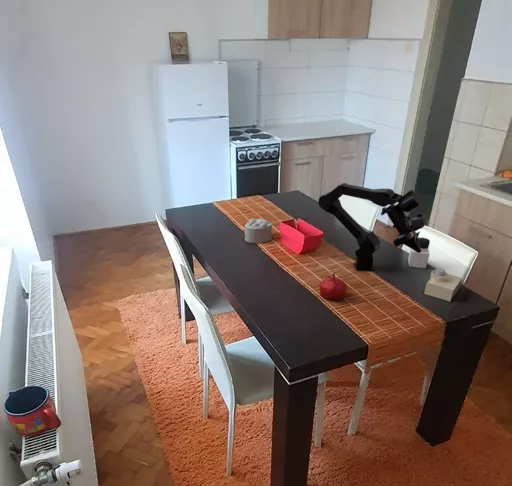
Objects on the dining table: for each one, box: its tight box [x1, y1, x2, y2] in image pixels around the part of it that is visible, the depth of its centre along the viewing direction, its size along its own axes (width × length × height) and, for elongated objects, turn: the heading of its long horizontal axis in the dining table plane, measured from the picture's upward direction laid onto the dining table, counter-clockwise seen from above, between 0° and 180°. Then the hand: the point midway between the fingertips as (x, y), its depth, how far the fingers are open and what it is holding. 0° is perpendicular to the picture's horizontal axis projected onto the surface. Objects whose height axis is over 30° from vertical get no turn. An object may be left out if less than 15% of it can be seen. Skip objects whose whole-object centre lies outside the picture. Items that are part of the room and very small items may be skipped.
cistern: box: [424, 269, 463, 302], centre depth 183 cm, size 11×13×7 cm
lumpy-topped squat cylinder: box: [244, 218, 273, 244], centre depth 221 cm, size 10×13×9 cm
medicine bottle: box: [407, 236, 431, 269], centre depth 202 cm, size 7×7×12 cm
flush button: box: [435, 267, 447, 276], centre depth 182 cm, size 4×4×2 cm
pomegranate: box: [319, 272, 348, 301], centre depth 176 cm, size 10×10×9 cm
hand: (420, 252), depth 183 cm, fingers closed
